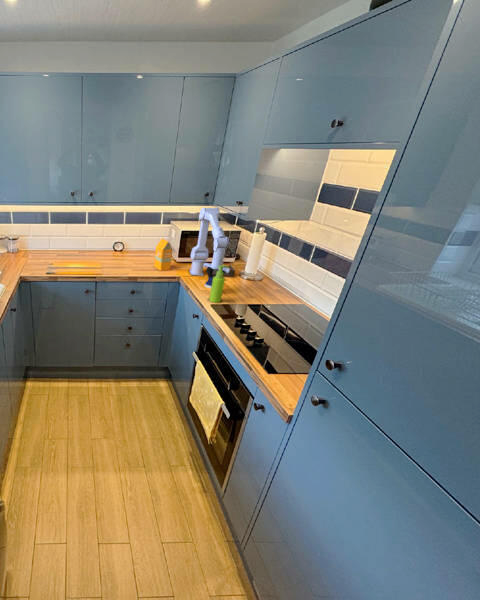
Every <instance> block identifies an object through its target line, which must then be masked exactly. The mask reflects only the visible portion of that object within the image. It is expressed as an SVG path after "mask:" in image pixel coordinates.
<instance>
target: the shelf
mask: <svg viewBox="0 0 480 600" xmlns="http://www.w3.org/2000/svg"><path fill="white" fill-rule="evenodd" d="M228 266H229V267H227V268H229V269H230V272H229V273H227V272H225V273H224V275H223V278H234V277H235V273H236V270H235V269H234V267H233V266H232V265H231V264H228ZM217 271H219V270H216V269H214V270H213V273H212V276H213V275H216V274H217Z"/></svg>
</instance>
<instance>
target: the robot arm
mask: <svg viewBox="0 0 480 600" xmlns="http://www.w3.org/2000/svg"><path fill="white" fill-rule="evenodd" d="M220 213H221V212H220V209H219V207H201V208H200V210H199V216H198V220H199V221H200V225H199V226H200V227H199V232H198V238H197V243H196V246H194V247H192V248H191V252H190V260H191V266H190V269H189V273H190V275H191V276H204V275H205V274H204V268H205V269H206V270H205V271H206V273H207V277H208V278H209V277H211V276H212V273H213V270H214V269H216V270H219V267H218V266H220V265H224V259H225V254H226V249H228V247H229V245H230V239H229V237H228V236H227V235H225V232H224V229H223V227H222V226H221V225H220V221H219V217H220ZM210 225H211V228H212V230H211V235H212V237H213V248H212V249H213V256H212V259H211V260H212V261H211V263H210V262H209V263H208V262H206V261H207V260H208V259H209V249H208V247H207V246H206V245H207V244H206V243H207V239H208V232H209V227H210ZM222 271H223V272H224V273H225V272H227V273H229V272H230V269H229V268H228V267H224V268H223V270H222ZM223 275H224V274H223Z"/></svg>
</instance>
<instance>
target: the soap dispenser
mask: <svg viewBox="0 0 480 600" xmlns="http://www.w3.org/2000/svg"><path fill="white" fill-rule="evenodd" d="M218 267H219V271H217V274H216V276H215V277H213V281H212V287H211V288H210V291H209V299H208V300H209V301H210V302H212V303H214V304H217V303H220V302H221V301H222V296H223V292H224V287H225V286H224V285H225V282H226V277H223V274H224V272H223V271H222V270H223V268H224V267H226V268H228V267H229V265H227V264H223V265H220V266H218Z"/></svg>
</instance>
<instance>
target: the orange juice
mask: <svg viewBox="0 0 480 600" xmlns="http://www.w3.org/2000/svg"><path fill="white" fill-rule="evenodd" d="M173 250H174V249H173V247H172V245H171V244H170V242H169V240H167V239H164V238H161V239H160V240H159V242H158V243H157V244H156V246H155V255H154V263H153V267H154V268H155V269H157V270H158V271H160V272H162V271H170V270H171V265H172V259H173Z"/></svg>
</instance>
